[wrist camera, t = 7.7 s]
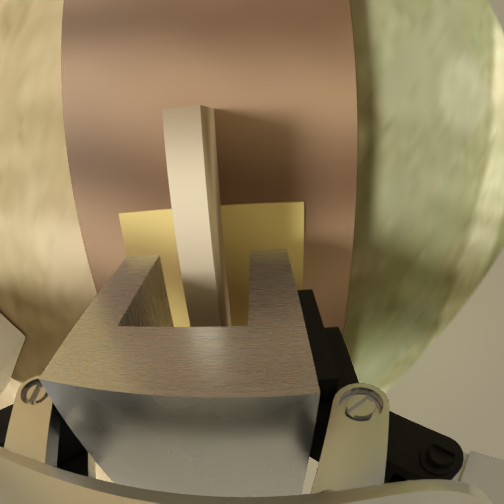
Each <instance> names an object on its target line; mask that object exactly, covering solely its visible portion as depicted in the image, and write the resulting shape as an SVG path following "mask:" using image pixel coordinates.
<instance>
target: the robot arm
mask: <svg viewBox="0 0 504 504" xmlns="http://www.w3.org/2000/svg"><path fill="white" fill-rule="evenodd" d="M297 292H298V296H299V300H300V305H301V309H302V313H303V317H304V322H305V326H306V330H307V335H308V339H309V344H310V348H311V353H312V357H313V362H314V366H315V371H316V375H317V380H318V385H319V389H320V398H319V404H318V411H317V417H316V423H315V428H314V434H313V439H312V445H311V450H310V455H309V456H310V457H311V458H313V459H315V460H316V461H318V462H319V464H318V468H317V472H316V476H315V479H314V483H313V486H312V491H311V494H304V495H290V496H272V497H218V496H201V495H189V494H178V493H170V492H162V491H155V490H148V489H142V488H136V487H131V486H125V485H120V484H116V483H111V482H107V481H102V480H98V479H96V473H95V460H94V459H93V458H92V456H91V455H90V454H89V453H88V451H87V450H86V449H85V447H84V446H83V445H82V444H81V442H80V441H79V440H78V438H77V437H76V436H75V434H74V433H73V431H72V430H71V429H70V427H69V426H68V424H67V423H66V421H65V420H64V419H63V417H62V416H61V414H60V413H59V411H58V410H57V408H56V407H55V405H54V403H53V402H52V400H51V399H50V397H49V396H48V394H47V392H46V391H45V389H44V387H43V386H42V384H41V382H40V381H39V378H40V376H41V375H39V376H34V377H32V378H29V379H28V380H26V381H25V382H24V383H23V384H22V385H21V386H20V387H19V389H18V391H17V394H16V398H15V402H14V404H12V405H10V406H8V407H6V408H3V409H1V410H0V504H504V460H501V459H497V458H493V457H490V456H487V455H484V454H480V453H477V452H474V451H470V453H469V454H467V453H463V451H462V449H461V447H460V446H459V444H458V443H457V442H456V441H454V440H453V439H451V438H449V437H447V436H445V435H442V434H440V433H438V432H435V431H433V430H430V429H428V428H426V427H424V426H421V425H419V424H417V423H415V422H412V421H410V420H408V419H406V418H403V417H401V416H399V415H397V414H395V413H393V412H391V411H389V400H388V398H387V396H386V395H385V393H384V392H383V391H381V390H380V389H379V388H377V387H375V386H373V385H370V384H365V383H359V382H358V379H357V376H356V373H355V370H354V367H353V364H352V362H351V359H350V356H349V353H348V350H347V347H346V345H345V342H344V339H343V336H342V334H341V331H340V329H339V327H326V328H324V325H323V322H322V319H321V315H320V312H319V309H318V306H317V302H316V299H315V296H314V293H313V290H312V289H307V290H297Z"/></svg>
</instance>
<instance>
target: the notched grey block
mask: <svg viewBox="0 0 504 504" xmlns="http://www.w3.org/2000/svg"><path fill="white" fill-rule="evenodd" d="M39 381H40V382H41V384H42V386H43V387H44V389H45V391H46V392H47V394H48V396H49V397H50V399H51V400H52V402H53V403H54V405H55V407H56V408H57V410H58V411H59V413H60V414H61V416H62V417H63V419H64V420H65V421H66V423H67V424H68V426H69V427H70V429H71V430H72V431H73V433H74V434H75V436H76V437H77V438H78V440H79V441H80V442H81V444H82V445H83V446H84V447H85V449H86V450H87V451H88V453H89V454H90V455H91V456H92V458H93V459H94V460H95V461H96V462H97V464H98V465H99V466H100V467H101V468H102V470H103V471H104V472H105V473H106V474H107V475H108V477H109V478H110V479H111V480H112V481H113V482H114V483H116V484H120V485H125V486H131V487H136V488H142V489H148V490H155V491H162V492H170V493H178V494H189V495H201V496H218V497H272V496H290V495H301V493H302V489H303V484H304V480H305V475H306V470H307V465H308V460H309V455H310V450H311V445H312V439H313V434H314V428H315V423H316V417H317V411H318V404H319V398H320V389H319V385H318V380H317V375H316V371H315V366H314V362H313V357H312V353H311V348H310V344H309V339H308V335H307V330H306V326H305V322H304V317H303V313H302V309H301V305H300V300H299V296H298V292H297V288H296V284H295V280H294V275H293V271H292V267H291V263H290V259H289V255H288V251H287V249H274V250H251V251H250V258H249V314H248V326H230V327H174V324H173V320H172V315H171V310H170V306H169V301H168V296H167V291H166V286H165V281H164V275H163V270H162V264H161V259H160V254H159V255H136V256H127V257H126V258H125V260H124V261H123V262H122V263H121V265H120V266H119V267H118V268H117V270H116V271H115V272H114V273H113V275H112V276H111V277H110V279H109V280H108V281H107V282H106V284H105V285H104V286H103V288H102V289H101V290H100V292H99V293H98V294H97V296H96V297H95V298H94V300H93V301H92V302H91V304H90V305H89V306H88V308H87V309H86V310H85V312H84V313H83V314H82V316H81V317H80V319H79V320H78V321H77V323H76V324H75V326H74V327H73V328H72V330H71V331H70V333H69V334H68V336H67V337H66V338H65V340H64V341H63V343H62V344H61V346H60V347H59V349H58V350H57V352H56V353H55V355H54V356H53V358H52V359H51V361H50V362H49V364H48V365H47V367H46V368H45V370H44V371H43V373H42V374H41V376H40V378H39Z"/></svg>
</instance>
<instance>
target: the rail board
mask: <svg viewBox="0 0 504 504" xmlns="http://www.w3.org/2000/svg"><path fill="white" fill-rule="evenodd" d="M61 77H62V101H63V116H64V128H65V138H66V147H67V155H68V162H69V169H70V176H71V182H72V188H73V194H74V200H75V205H76V210H77V215H78V220H79V225H80V229H81V234H82V238H83V242H84V247H85V251H86V255H87V259H88V263H89V266H90V270H91V274H92V277H93V281H94V284H95V288H96V291H97V294H98V293H99V292H100V290H101V289H102V288H103V286H104V285H105V284H106V282H107V281H108V280H109V279H110V277H111V276H112V275H113V273H114V272H115V271H116V270H117V268H118V267H119V266H120V265H121V263H122V262H123V261H124V260H125V258H126V257H127V256H136V255H159V254H160V259H161V264H162V270H163V275H164V281H165V286H166V291H167V296H168V301H169V306H170V310H171V315H172V320H173V324H174V327H230V326H248V314H249V258H250V251H251V250H274V249H287V251H288V255H289V259H290V263H291V267H292V271H293V275H294V280H295V284H296V288H297V290H307V289H312V290H313V293H314V296H315V299H316V302H317V306H318V309H319V312H320V315H321V319H322V322H323V325H324V328H326V327H339V329H340V331H341V334H342V336H343V331H344V324H345V316H346V308H347V300H348V292H349V283H350V273H351V263H352V251H353V239H354V224H355V207H356V184H357V92H356V70H355V54H354V41H353V30H352V20H351V10H350V2H349V0H64V6H63V19H62V42H61Z"/></svg>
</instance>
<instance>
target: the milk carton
mask: <svg viewBox="0 0 504 504" xmlns="http://www.w3.org/2000/svg"><path fill="white" fill-rule="evenodd" d="M24 341H25V336H24V335H23V334H22V333H21V332H20V331H19V330H18V329H17V328H16V327H15V326H14V325H13V324H12V323H10V322H9V321H8V320H7V319H6V318H5V317H4V316H3V315H2V314H1V313H0V395H1V394H2V392H3V391H4V389H5V388H6V386H7V385H8V383H9V381H10V379H11V376H12V373H13V370H14V367H15V365H16V362H17V359H18V356H19V354H20V351H21V349H22V346H23V343H24Z"/></svg>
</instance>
